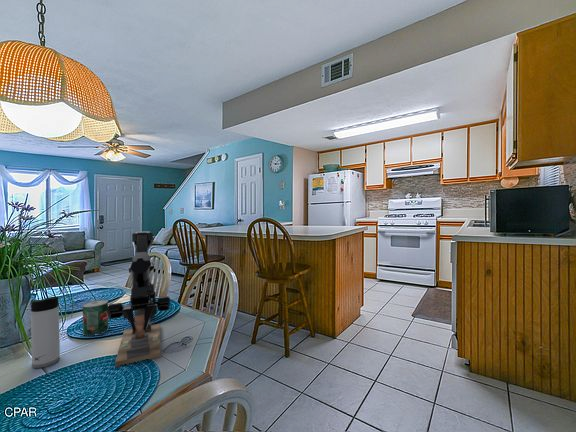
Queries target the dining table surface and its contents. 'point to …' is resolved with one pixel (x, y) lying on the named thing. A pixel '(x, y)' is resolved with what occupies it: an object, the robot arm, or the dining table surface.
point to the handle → (139, 329)
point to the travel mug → (45, 332)
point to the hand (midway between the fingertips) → (139, 331)
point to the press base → (139, 352)
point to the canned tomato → (95, 317)
